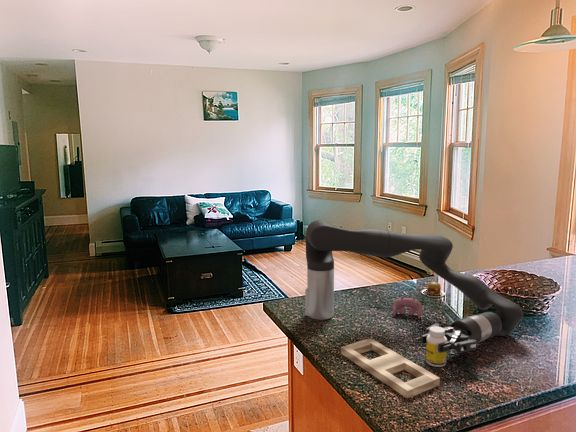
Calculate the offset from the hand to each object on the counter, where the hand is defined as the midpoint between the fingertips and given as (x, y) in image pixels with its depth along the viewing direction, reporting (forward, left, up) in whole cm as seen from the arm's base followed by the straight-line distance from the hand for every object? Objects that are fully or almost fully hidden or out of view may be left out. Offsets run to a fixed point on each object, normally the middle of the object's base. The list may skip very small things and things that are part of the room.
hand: (430, 344), depth 118 cm
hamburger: (-4, +58, -7) cm, 59 cm away
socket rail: (-10, -6, -6) cm, 13 cm away
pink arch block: (-10, +33, -6) cm, 35 cm away
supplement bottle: (+2, +2, -6) cm, 7 cm away
